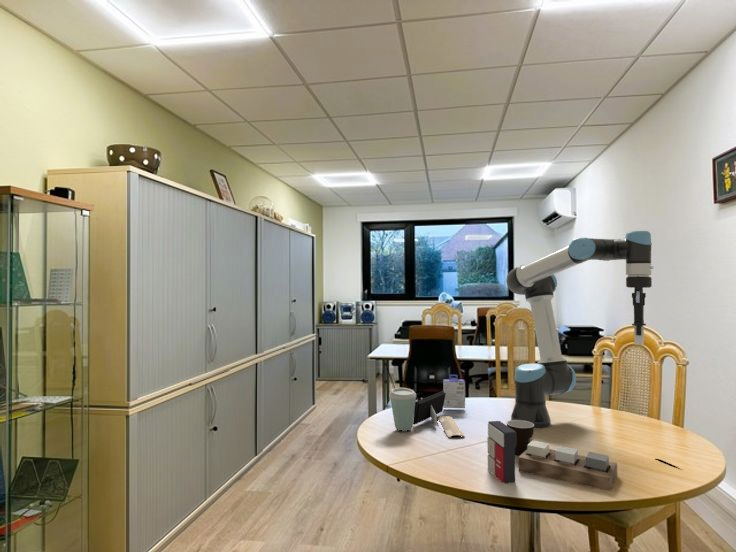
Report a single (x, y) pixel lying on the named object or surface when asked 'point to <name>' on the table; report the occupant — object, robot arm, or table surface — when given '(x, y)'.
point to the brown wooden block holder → (568, 470)
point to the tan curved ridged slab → (450, 426)
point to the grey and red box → (501, 451)
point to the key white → (538, 449)
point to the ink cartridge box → (454, 392)
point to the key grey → (566, 455)
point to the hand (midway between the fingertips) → (639, 344)
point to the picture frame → (429, 408)
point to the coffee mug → (522, 434)
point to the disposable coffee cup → (403, 407)
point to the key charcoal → (597, 461)
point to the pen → (667, 463)
